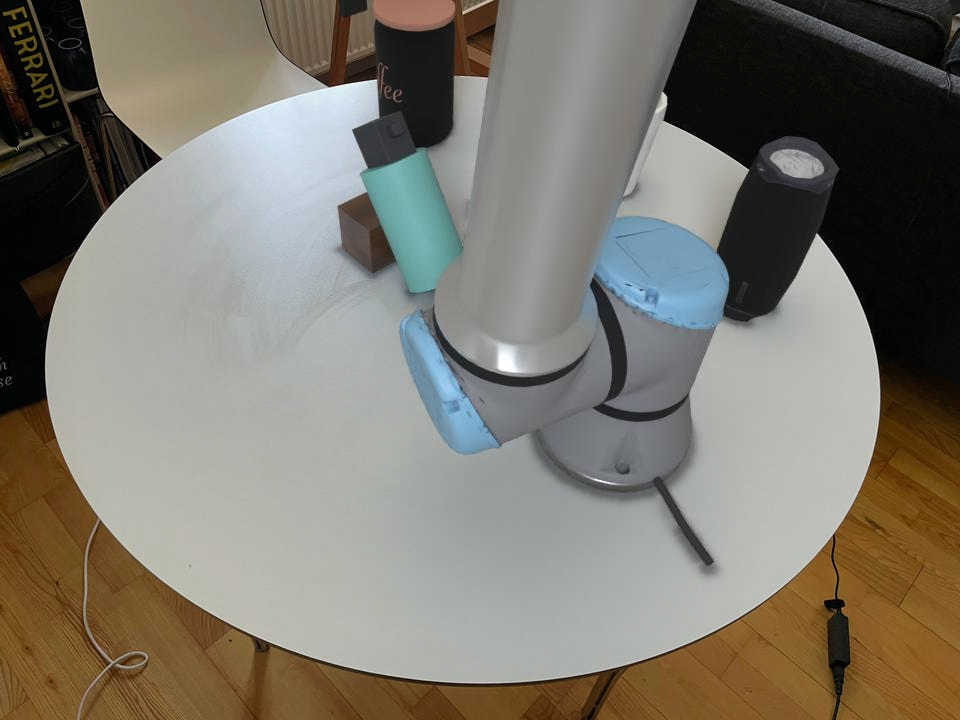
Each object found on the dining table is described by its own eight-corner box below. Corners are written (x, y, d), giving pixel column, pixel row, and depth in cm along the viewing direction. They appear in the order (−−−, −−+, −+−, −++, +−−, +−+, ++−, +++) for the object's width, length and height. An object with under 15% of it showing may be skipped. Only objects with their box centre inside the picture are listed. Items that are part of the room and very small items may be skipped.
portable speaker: (731, 264, 94) (787, 122, 79) (794, 307, 89) (865, 165, 74) (685, 292, 90) (735, 148, 75) (749, 339, 85) (814, 195, 71)
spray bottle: (483, 289, 88) (483, 140, 74) (434, 319, 84) (424, 169, 71) (404, 234, 95) (390, 91, 82) (355, 260, 92) (332, 114, 78)
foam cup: (563, 180, 104) (576, 92, 94) (607, 156, 108) (624, 69, 99) (615, 213, 99) (634, 125, 90) (659, 187, 104) (682, 100, 94)
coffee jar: (376, 112, 113) (368, -11, 100) (447, 108, 115) (449, -14, 101) (383, 153, 106) (376, 26, 93) (458, 148, 108) (462, 22, 94)
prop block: (424, 245, 93) (423, 203, 89) (372, 273, 90) (369, 231, 85) (393, 222, 96) (391, 179, 91) (342, 248, 92) (337, 205, 88)
